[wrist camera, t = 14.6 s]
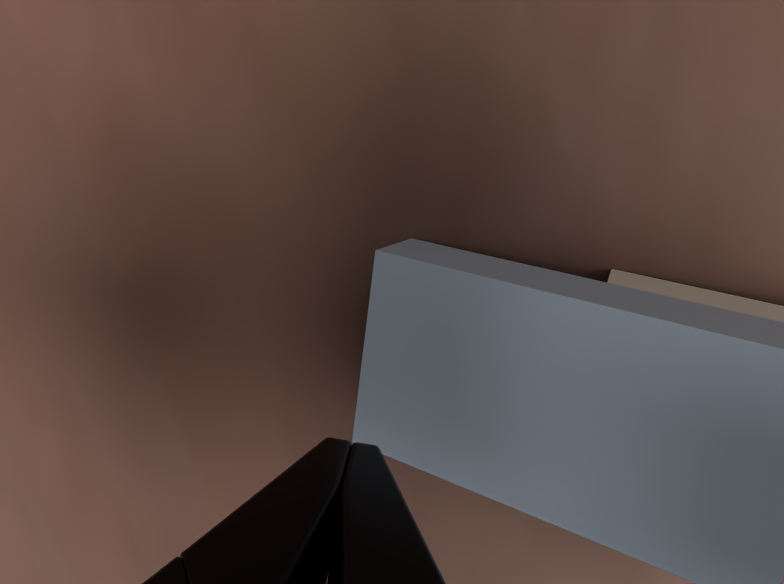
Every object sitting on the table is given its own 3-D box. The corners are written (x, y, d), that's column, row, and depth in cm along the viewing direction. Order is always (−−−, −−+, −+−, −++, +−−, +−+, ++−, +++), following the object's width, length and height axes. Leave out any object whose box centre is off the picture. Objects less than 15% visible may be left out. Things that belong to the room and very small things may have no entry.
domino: (387, 408, 15) (749, 544, 11) (352, 441, 13) (767, 613, 10) (411, 238, 13) (838, 334, 10) (375, 249, 12) (880, 372, 8)
